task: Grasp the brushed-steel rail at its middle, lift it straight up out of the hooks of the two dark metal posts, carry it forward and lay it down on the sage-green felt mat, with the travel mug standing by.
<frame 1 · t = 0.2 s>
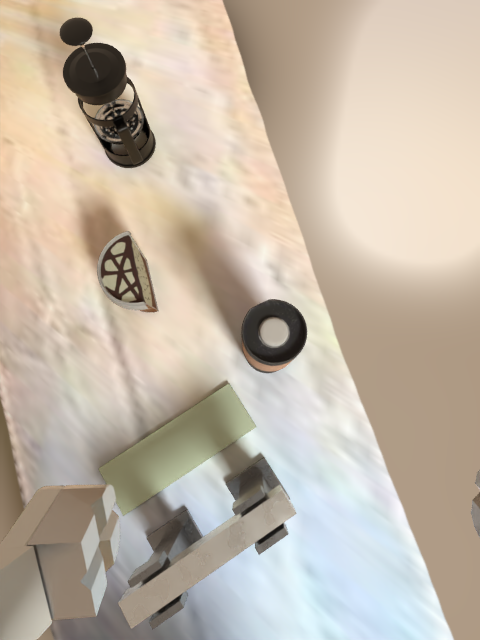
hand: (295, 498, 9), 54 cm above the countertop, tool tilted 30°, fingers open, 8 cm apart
mat: (178, 447, 60), on the countertop
posts: (219, 516, 58), on the countertop
rail: (211, 547, 46), point 12 cm above the countertop, touching posts
french press: (131, 148, 71), on the countertop
travel mug: (266, 351, 63), on the countertop
food container: (135, 290, 66), on the countertop
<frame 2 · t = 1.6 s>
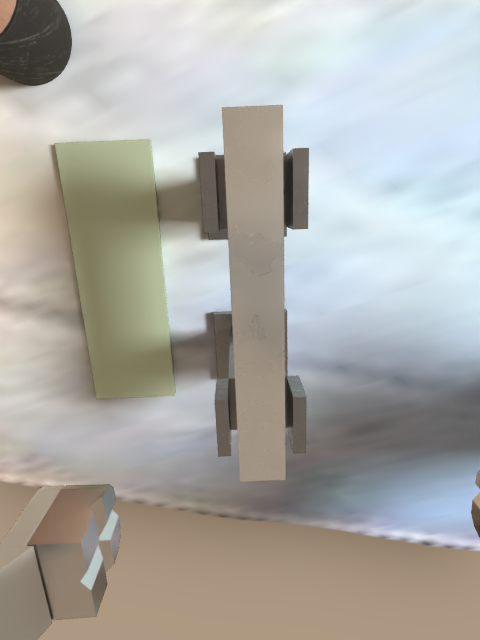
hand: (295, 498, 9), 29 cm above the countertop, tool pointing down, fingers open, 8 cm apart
mat: (122, 280, 36), on the countertop
posts: (248, 274, 36), on the countertop
rail: (255, 306, 25), point 12 cm above the countertop, touching posts
travel mug: (28, 36, 31), on the countertop
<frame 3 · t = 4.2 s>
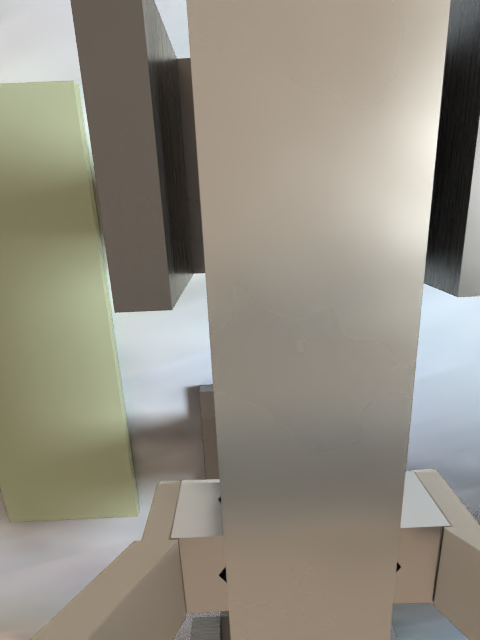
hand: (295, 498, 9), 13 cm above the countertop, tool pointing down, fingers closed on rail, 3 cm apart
mat: (41, 334, 21), on the countertop
posts: (259, 324, 21), on the countertop
rail: (288, 466, 10), point 12 cm above the countertop, touching gripper, posts
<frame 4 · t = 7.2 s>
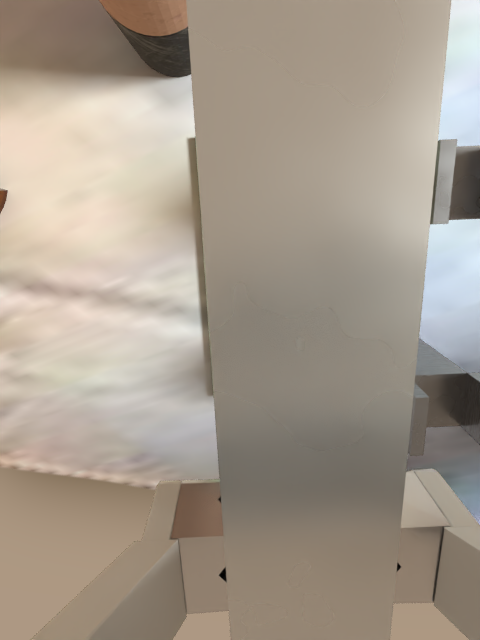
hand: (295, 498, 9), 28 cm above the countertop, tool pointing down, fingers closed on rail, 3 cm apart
posts: (377, 270, 36), on the countertop
rail: (288, 466, 10), point 27 cm above the countertop, touching gripper
travel mug: (175, 27, 30), on the countertop
when the fingers open (3 cm above the countertop, at t = 10.4 s): rail drops 2 cm, resting on mat.
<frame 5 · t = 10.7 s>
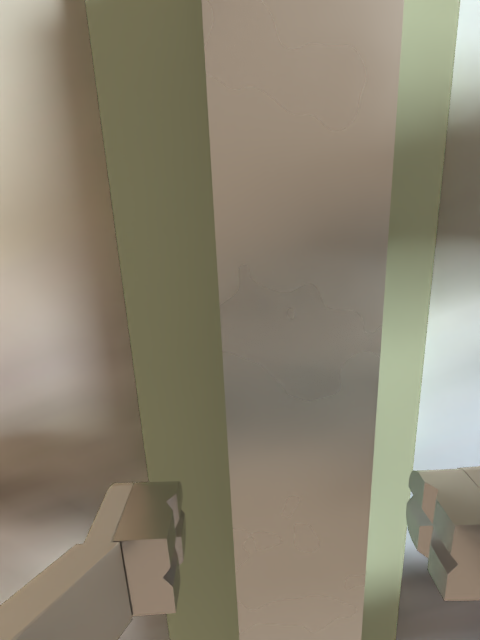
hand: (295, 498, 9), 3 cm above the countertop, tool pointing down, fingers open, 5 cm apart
mat: (277, 420, 12), on the countertop
rail: (283, 430, 11), point 1 cm above the countertop, touching mat
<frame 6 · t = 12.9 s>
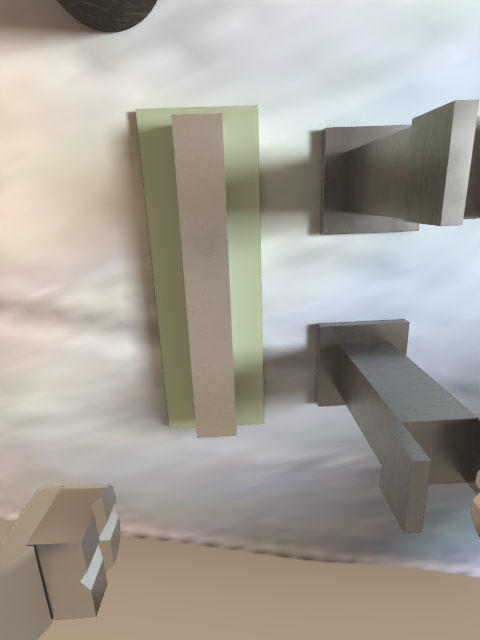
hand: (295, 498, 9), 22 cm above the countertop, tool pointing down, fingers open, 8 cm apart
mat: (208, 285, 29), on the countertop
posts: (364, 278, 30), on the countertop
rail: (209, 286, 29), point 1 cm above the countertop, touching mat
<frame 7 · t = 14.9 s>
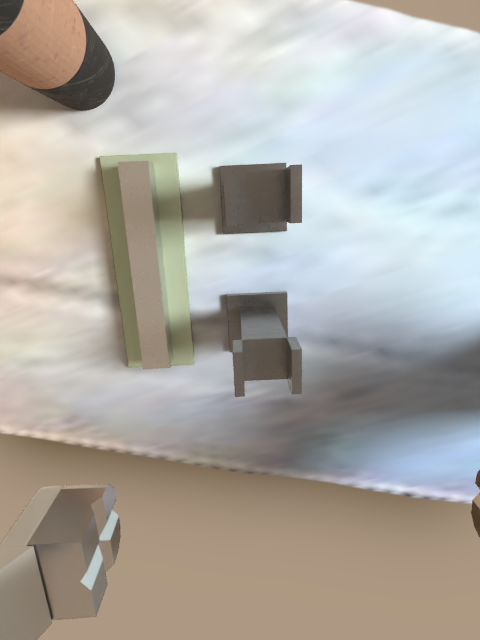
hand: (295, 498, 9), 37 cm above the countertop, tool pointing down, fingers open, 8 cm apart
mat: (151, 267, 44), on the countertop
posts: (255, 263, 44), on the countertop
rail: (151, 268, 44), point 1 cm above the countertop, touching mat
travel mug: (80, 72, 39), on the countertop
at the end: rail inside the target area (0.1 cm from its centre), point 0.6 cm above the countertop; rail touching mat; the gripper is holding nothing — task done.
